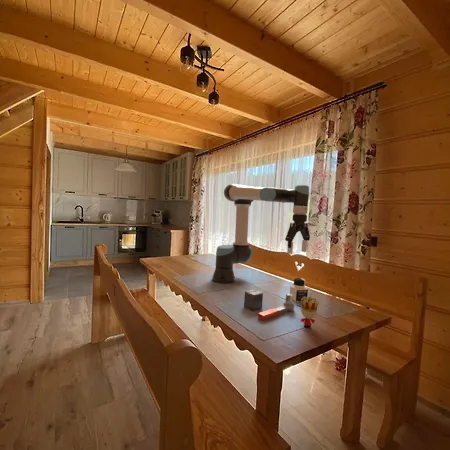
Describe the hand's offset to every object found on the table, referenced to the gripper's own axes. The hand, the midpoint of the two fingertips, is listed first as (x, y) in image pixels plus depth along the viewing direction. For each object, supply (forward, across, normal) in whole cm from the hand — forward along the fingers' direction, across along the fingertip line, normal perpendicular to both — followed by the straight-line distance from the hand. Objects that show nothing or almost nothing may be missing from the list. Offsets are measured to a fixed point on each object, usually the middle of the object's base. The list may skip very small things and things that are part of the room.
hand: (297, 252), depth 142 cm
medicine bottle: (+27, +2, -1) cm, 27 cm away
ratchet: (+27, -24, -7) cm, 36 cm away
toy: (+27, -23, -23) cm, 42 cm away
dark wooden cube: (+27, -27, +5) cm, 39 cm away
